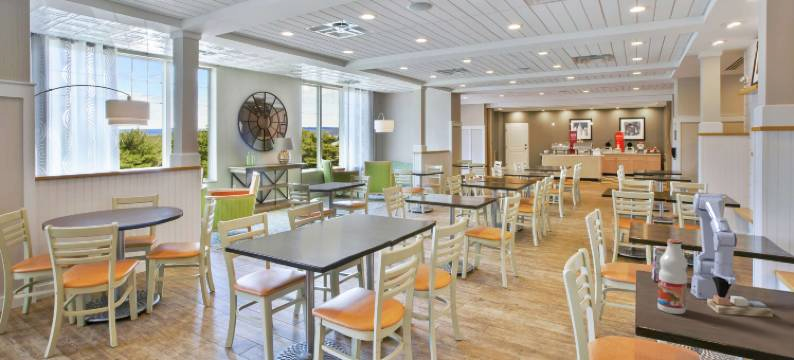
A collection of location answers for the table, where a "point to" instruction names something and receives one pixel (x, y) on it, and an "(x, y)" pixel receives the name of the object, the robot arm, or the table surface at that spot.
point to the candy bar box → (657, 261)
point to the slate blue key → (756, 304)
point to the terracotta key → (721, 300)
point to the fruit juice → (672, 279)
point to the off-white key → (739, 301)
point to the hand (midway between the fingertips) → (721, 296)
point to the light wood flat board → (739, 309)
